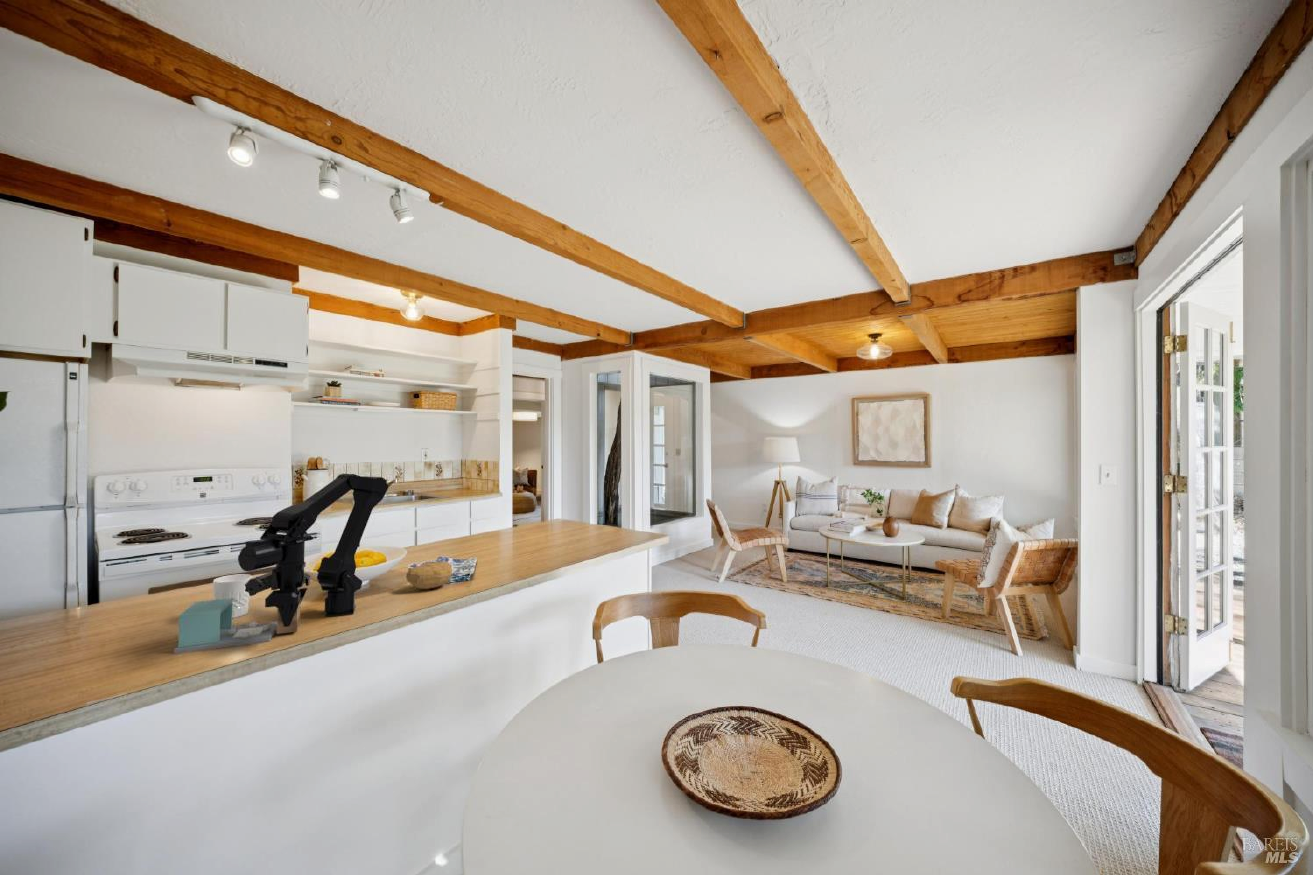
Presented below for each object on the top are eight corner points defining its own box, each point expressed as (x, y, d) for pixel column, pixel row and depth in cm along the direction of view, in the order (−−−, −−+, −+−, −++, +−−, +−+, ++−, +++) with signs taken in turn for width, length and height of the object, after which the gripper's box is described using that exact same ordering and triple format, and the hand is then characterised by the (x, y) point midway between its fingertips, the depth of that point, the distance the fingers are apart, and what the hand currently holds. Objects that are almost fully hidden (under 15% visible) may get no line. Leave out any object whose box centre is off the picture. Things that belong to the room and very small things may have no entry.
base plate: (279, 624, 127) (279, 617, 127) (269, 641, 117) (269, 632, 117) (193, 635, 119) (193, 627, 119) (174, 653, 109) (174, 644, 109)
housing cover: (232, 627, 122) (232, 598, 122) (218, 642, 113) (219, 611, 113) (195, 631, 119) (195, 601, 119) (178, 647, 110) (179, 615, 110)
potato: (401, 588, 159) (402, 564, 158) (445, 580, 168) (446, 557, 168) (411, 596, 151) (411, 570, 151) (456, 587, 161) (457, 563, 161)
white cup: (233, 620, 129) (234, 582, 129) (203, 619, 129) (204, 581, 129) (258, 610, 137) (258, 574, 137) (230, 609, 137) (231, 573, 137)
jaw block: (299, 625, 125) (300, 602, 125) (296, 631, 122) (297, 607, 122) (280, 627, 123) (281, 604, 123) (276, 633, 120) (277, 609, 120)
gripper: (259, 555, 127) (258, 615, 127) (237, 574, 110) (235, 643, 110) (311, 551, 132) (310, 609, 132) (298, 569, 116) (296, 635, 116)
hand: (288, 623), depth 122 cm, fingers closed on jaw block, 4 cm apart
